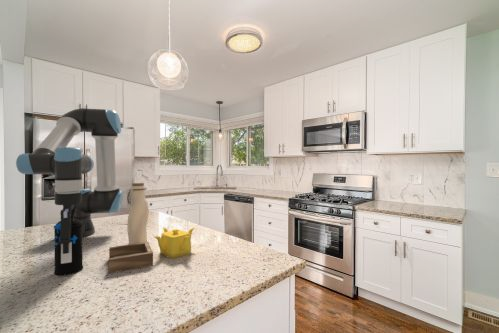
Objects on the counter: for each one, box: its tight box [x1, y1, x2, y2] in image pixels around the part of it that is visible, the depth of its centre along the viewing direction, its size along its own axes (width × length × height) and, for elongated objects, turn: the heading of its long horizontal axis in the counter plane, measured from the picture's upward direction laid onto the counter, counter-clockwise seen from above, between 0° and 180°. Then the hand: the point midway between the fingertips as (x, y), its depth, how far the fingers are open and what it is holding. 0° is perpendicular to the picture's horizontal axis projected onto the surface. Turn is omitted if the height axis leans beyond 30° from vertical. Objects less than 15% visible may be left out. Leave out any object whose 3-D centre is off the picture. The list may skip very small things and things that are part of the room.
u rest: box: [108, 241, 154, 274], centre depth 91 cm, size 14×14×4 cm
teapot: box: [153, 227, 196, 259], centre depth 101 cm, size 15×14×10 cm
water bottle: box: [126, 182, 150, 245], centre depth 112 cm, size 10×9×28 cm
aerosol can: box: [53, 219, 84, 277], centre depth 84 cm, size 8×8×20 cm
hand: (68, 257), depth 84 cm, fingers open, 9 cm apart
